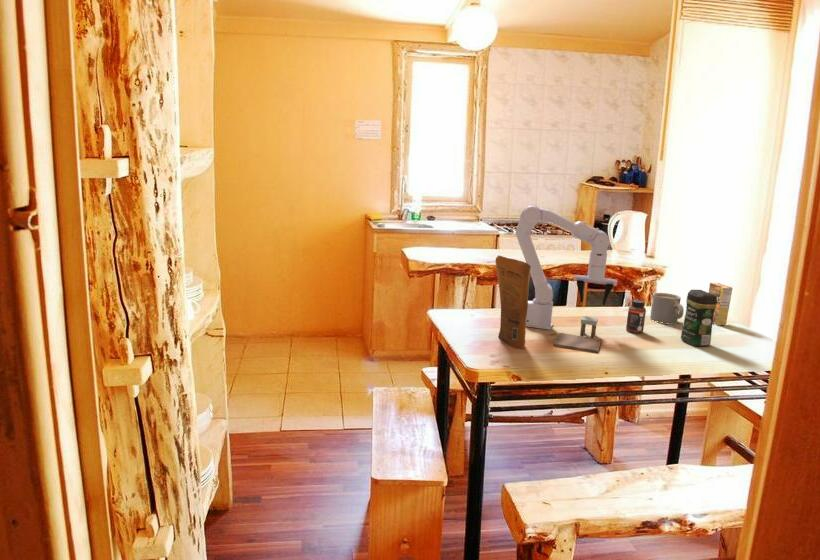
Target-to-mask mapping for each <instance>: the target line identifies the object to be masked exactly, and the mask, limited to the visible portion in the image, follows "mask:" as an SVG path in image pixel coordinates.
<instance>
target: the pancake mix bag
mask: <svg viewBox="0 0 820 560" xmlns="http://www.w3.org/2000/svg"><path fill="white" fill-rule="evenodd" d="M495 267H496V273H497V283H498V290H499V291H498V292H499V300H500V301H499V302H500V328H499V332H498V338H499V339H500V340H502V341H503V342H505V343H506V344H508V345H509V346H510V347H513V348H517V349H523V350H525V346H526V333H527V332H526V331H527V326H526V316H527V309H528V301H529V295H530V294H529V291H530V290H529V289H530V276H531V274H530V269H531V266H530V265H529V264H528V263H526V261H525V262H524V261H522V260H518V259H514V258H508V257H506V256H502V255H497V256H496V257H495Z"/></svg>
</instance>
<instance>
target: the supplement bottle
mask: <svg viewBox="0 0 820 560" xmlns="http://www.w3.org/2000/svg"><path fill="white" fill-rule="evenodd" d="M631 304H632V305H630V306H629V307H628V311H627V318H626V326H625V330H626V331H627V332H629V333H633V334H642V333H643V332H644V328H645V321H646V320H645V319H646V313H647V309H646V308H645V301H643V300H638V299H634V300H632V301H631Z"/></svg>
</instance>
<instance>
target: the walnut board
mask: <svg viewBox="0 0 820 560" xmlns="http://www.w3.org/2000/svg"><path fill="white" fill-rule="evenodd" d="M602 341H603V340H602V338H595V337H594V338H591V336H590V337H589V336H585V335H584V336H580V335H577V334H571V333H563V332H559V333H558V335H557V337H556V339H555V340H554V342H553V347H559V348H564V349H571V350H575V351H583V352H588V351H589V353H594V352H595V353H596V354H598V353H599V349H600V347H601V344H602Z"/></svg>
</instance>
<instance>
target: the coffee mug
mask: <svg viewBox="0 0 820 560" xmlns="http://www.w3.org/2000/svg"><path fill="white" fill-rule="evenodd" d="M684 310H685V309H684V306H683V304H681V296H679V295H677V294H674V293H673V294H672V293H669V292H668V293H667V292H665V293H664V292H655V293H653V295H652V303H651V309H650V316H649V317H650V318H651V319H652V320H654V321H653V322H655V321H658V322H657V323H659V322H663V323H662V324H664V323H676V324H677V323H678V320H680V319H681V318H682V317H683V316H684V312H685V311H684ZM650 318H649V319H650ZM651 319H650V320H651ZM652 320H651V321H652Z"/></svg>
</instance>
